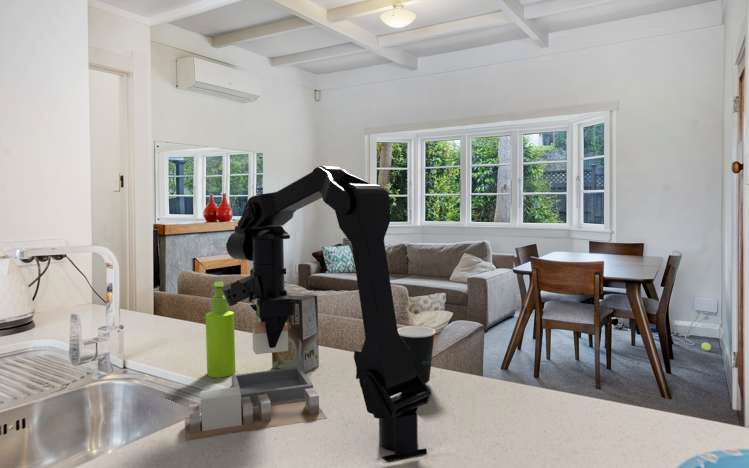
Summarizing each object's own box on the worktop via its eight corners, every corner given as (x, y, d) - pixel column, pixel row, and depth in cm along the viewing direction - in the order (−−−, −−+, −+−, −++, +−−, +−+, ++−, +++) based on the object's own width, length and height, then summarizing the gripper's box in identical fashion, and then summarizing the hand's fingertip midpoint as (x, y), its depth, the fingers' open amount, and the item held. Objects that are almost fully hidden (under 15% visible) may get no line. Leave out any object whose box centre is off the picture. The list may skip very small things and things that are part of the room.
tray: (313, 401, 96) (313, 385, 96) (237, 412, 91) (237, 395, 91) (300, 381, 107) (299, 366, 107) (231, 390, 102) (231, 375, 102)
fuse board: (327, 424, 86) (326, 400, 86) (185, 446, 78) (184, 421, 78) (314, 404, 94) (313, 382, 94) (185, 423, 87) (184, 400, 86)
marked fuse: (288, 350, 98) (287, 324, 97) (255, 354, 96) (255, 327, 95) (284, 345, 101) (283, 320, 101) (252, 348, 99) (252, 323, 99)
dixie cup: (438, 391, 100) (438, 335, 100) (397, 392, 100) (396, 335, 99) (433, 377, 108) (432, 325, 108) (395, 378, 108) (394, 326, 107)
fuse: (241, 424, 83) (240, 394, 83) (202, 431, 81) (201, 399, 81) (239, 415, 87) (238, 386, 87) (201, 421, 85) (200, 391, 85)
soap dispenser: (206, 380, 108) (203, 285, 107) (207, 370, 115) (205, 280, 114) (235, 377, 110) (233, 283, 109) (235, 367, 116) (233, 279, 115)
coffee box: (320, 365, 118) (319, 294, 117) (304, 373, 112) (302, 299, 111) (287, 360, 122) (286, 292, 121) (270, 367, 116) (268, 296, 115)
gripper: (220, 260, 104) (222, 337, 104) (228, 270, 86) (230, 363, 87) (276, 257, 107) (278, 332, 108) (294, 267, 90) (296, 356, 91)
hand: (270, 344), depth 98 cm, fingers closed on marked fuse, 4 cm apart
